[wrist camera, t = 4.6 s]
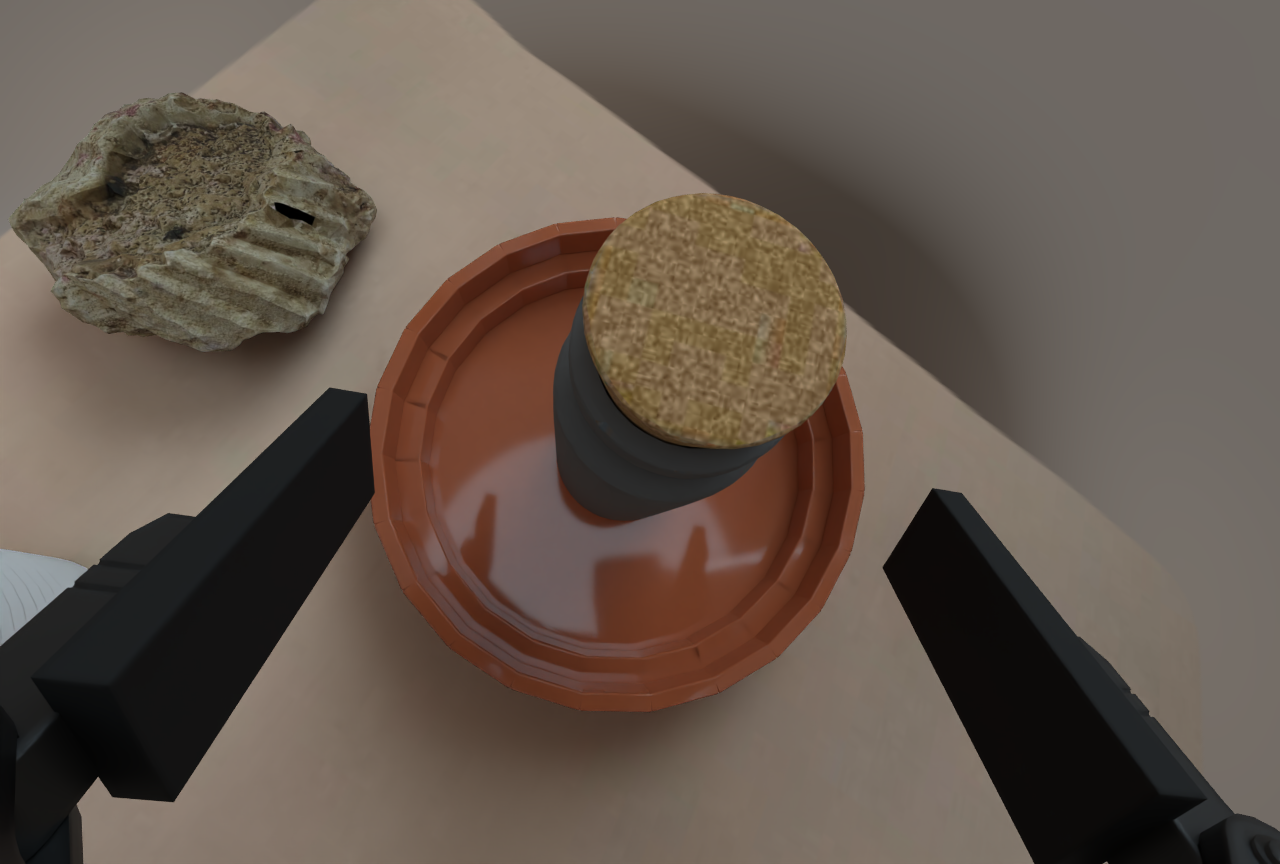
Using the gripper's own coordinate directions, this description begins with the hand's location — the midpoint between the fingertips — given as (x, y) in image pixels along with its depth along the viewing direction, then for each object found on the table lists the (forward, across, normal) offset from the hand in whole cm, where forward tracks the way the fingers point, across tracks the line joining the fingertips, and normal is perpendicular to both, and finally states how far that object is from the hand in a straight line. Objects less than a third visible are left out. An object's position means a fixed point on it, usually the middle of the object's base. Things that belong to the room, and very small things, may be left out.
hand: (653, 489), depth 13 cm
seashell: (+14, -17, -2) cm, 22 cm away
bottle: (+10, 0, -6) cm, 11 cm away
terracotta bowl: (+10, 0, -6) cm, 11 cm away
